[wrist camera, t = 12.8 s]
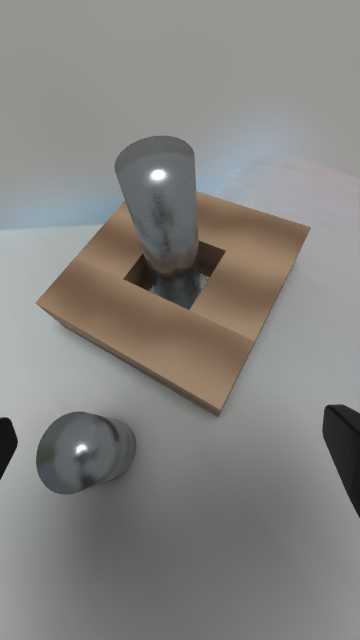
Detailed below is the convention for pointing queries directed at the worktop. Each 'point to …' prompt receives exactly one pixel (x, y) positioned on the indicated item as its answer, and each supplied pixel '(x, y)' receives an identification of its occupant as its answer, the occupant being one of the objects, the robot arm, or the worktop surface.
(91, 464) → the short pin
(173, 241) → the long pin
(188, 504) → the worktop surface
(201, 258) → the plate
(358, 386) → the worktop surface
